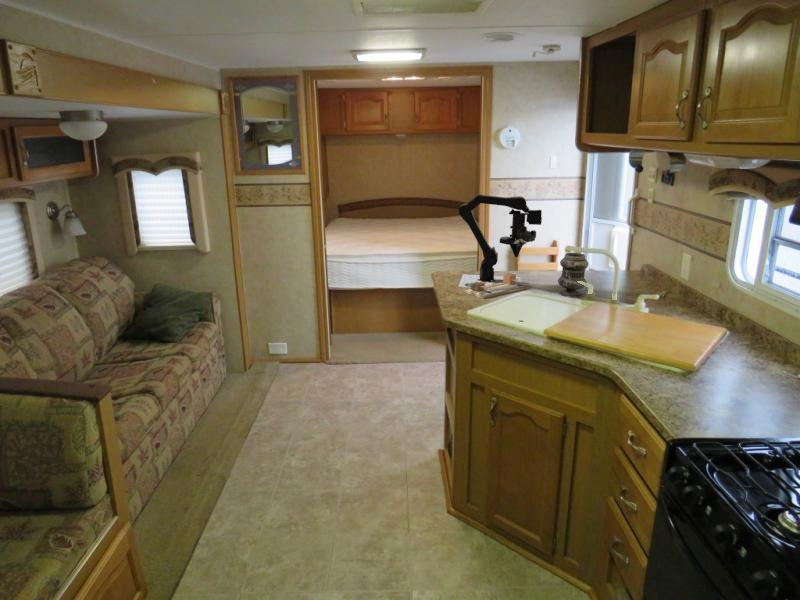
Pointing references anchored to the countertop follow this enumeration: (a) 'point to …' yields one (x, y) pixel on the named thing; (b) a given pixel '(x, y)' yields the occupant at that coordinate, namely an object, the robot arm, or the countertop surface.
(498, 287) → the beam board
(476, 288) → the fixed point
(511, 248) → the robot arm
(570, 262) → the apothecary jar
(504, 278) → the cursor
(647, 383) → the countertop surface
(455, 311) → the countertop surface
